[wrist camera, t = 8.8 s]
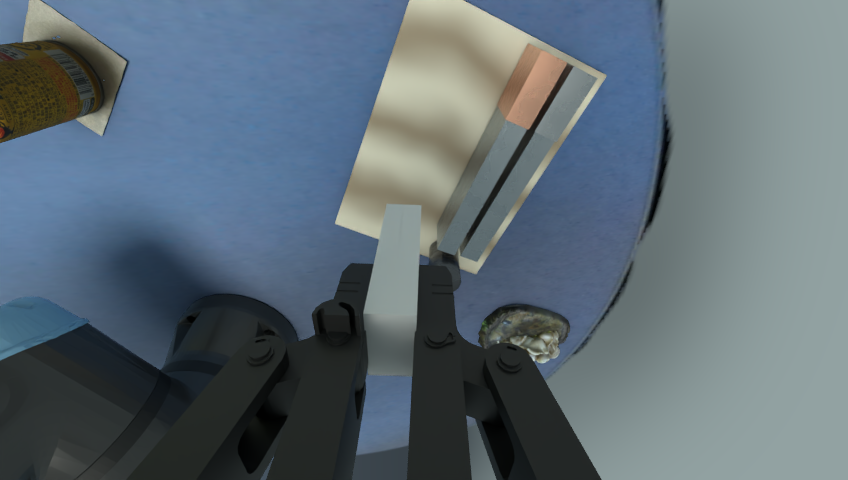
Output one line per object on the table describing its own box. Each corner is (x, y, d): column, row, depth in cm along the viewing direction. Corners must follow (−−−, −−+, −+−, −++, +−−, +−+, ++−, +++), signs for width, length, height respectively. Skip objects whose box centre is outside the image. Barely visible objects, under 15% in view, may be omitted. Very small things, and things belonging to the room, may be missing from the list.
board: (475, 270, 42) (476, 274, 41) (336, 219, 39) (334, 223, 38) (603, 73, 30) (606, 75, 29) (418, -24, 27) (417, -24, 26)
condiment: (16, 81, 32) (-175, 119, 22) (33, -7, 28) (-188, -9, 18) (104, 135, 34) (-32, 191, 24) (129, 61, 31) (-18, 91, 21)
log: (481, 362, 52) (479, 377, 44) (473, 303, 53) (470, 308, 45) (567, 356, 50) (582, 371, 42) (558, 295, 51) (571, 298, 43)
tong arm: (453, 230, 38) (455, 256, 34) (436, 223, 38) (436, 249, 34) (549, 54, 28) (567, 62, 25) (528, 43, 28) (542, 50, 24)
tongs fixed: (455, 267, 41) (457, 299, 37) (424, 256, 40) (423, 287, 36) (576, 68, 29) (601, 79, 25) (536, 47, 28) (554, 55, 24)
